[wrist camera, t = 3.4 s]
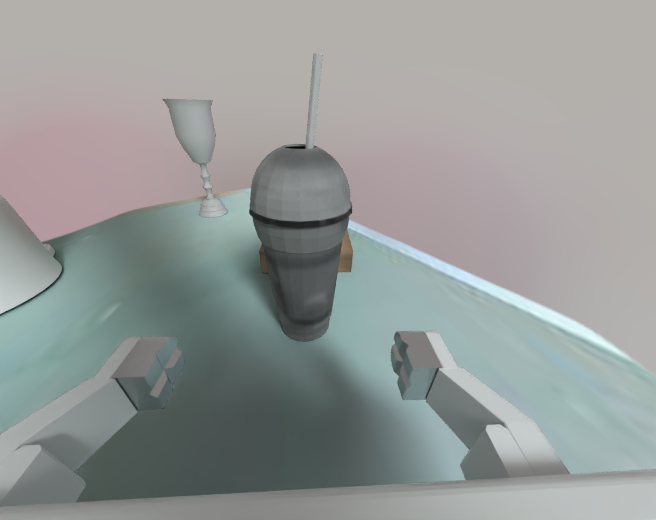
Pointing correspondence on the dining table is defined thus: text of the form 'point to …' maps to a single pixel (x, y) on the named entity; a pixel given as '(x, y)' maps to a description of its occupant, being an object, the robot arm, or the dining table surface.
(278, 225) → the beverage cup
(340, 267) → the walnut plinth
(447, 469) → the dining table surface
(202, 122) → the chalice
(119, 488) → the dining table surface
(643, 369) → the dining table surface
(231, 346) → the dining table surface
